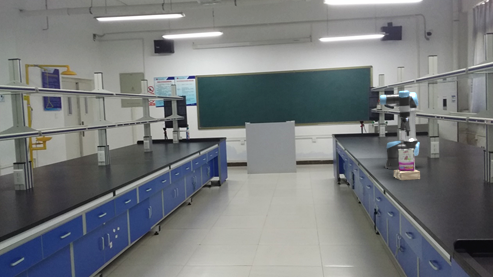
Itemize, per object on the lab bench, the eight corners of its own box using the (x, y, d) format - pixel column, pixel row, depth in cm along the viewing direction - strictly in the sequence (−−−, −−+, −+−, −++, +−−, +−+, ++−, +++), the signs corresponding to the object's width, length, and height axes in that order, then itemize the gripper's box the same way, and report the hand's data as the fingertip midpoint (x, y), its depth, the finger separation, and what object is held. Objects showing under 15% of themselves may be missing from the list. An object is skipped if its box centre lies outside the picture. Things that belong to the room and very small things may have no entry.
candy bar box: (415, 170, 314) (414, 148, 313) (414, 171, 310) (414, 149, 309) (399, 170, 319) (398, 148, 318) (398, 171, 314) (398, 149, 314)
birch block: (393, 177, 321) (393, 170, 321) (411, 176, 322) (411, 168, 322) (401, 180, 307) (401, 172, 307) (420, 179, 308) (419, 171, 308)
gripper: (395, 111, 324) (396, 138, 326) (403, 112, 299) (404, 141, 301) (405, 110, 323) (406, 138, 325) (414, 111, 298) (415, 141, 300)
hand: (405, 139), depth 313 cm, fingers open, 13 cm apart
